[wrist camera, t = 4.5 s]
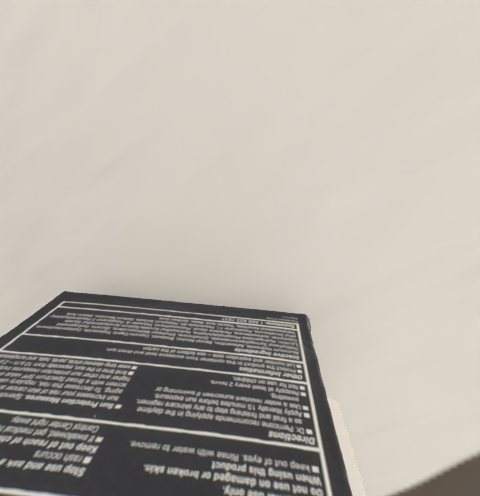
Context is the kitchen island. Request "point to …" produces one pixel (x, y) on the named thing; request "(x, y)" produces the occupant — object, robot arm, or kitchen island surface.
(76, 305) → the small box
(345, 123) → the kitchen island surface
